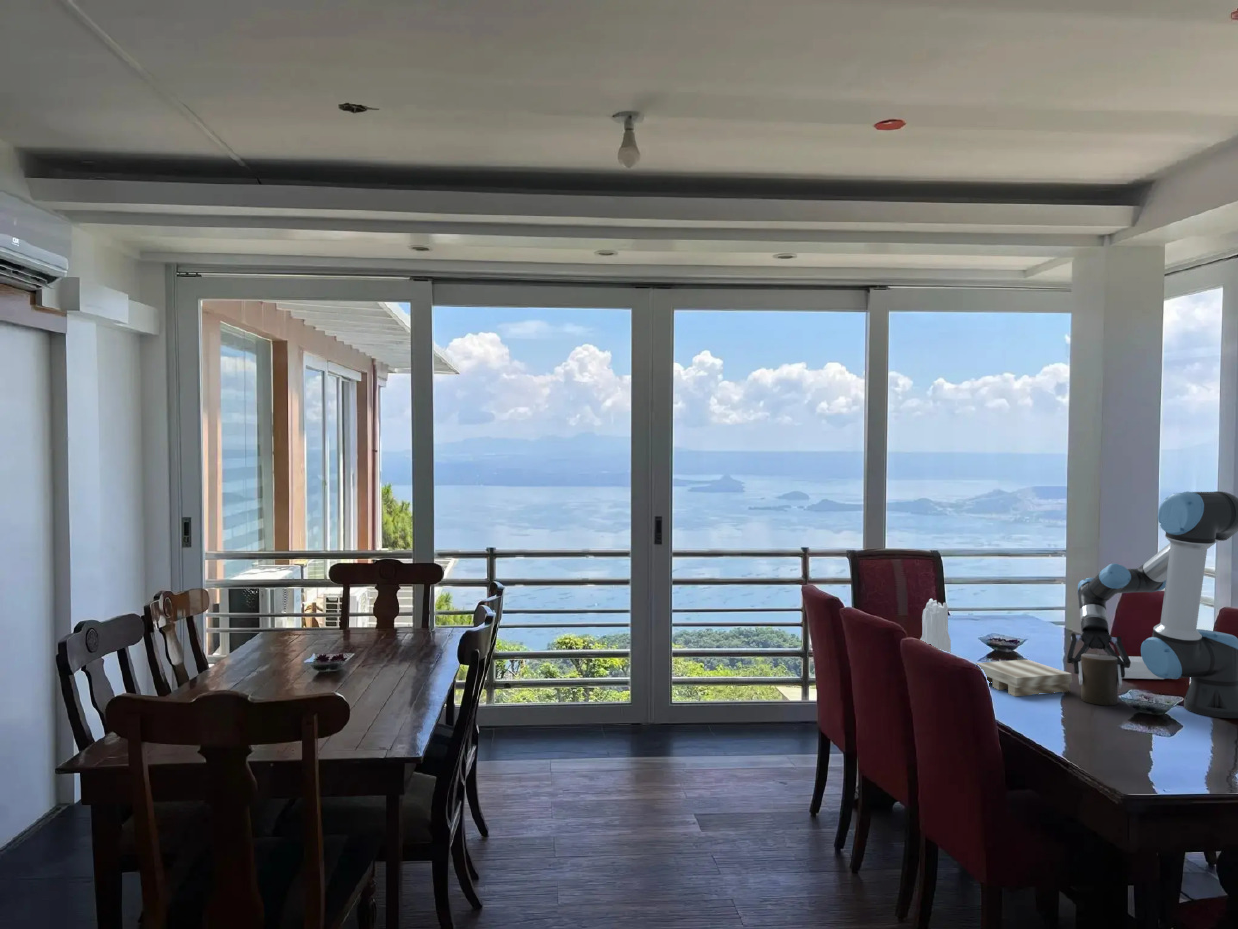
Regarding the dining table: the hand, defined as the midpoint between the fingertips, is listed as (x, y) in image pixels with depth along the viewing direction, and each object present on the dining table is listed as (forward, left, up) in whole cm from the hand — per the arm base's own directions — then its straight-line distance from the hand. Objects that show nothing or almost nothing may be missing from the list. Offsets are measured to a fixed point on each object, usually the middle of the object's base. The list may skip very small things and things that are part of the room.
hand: (1100, 684), depth 250 cm
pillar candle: (-2, -2, -6) cm, 7 cm away
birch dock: (+9, -22, -6) cm, 25 cm away
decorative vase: (+24, -47, -6) cm, 54 cm away
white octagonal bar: (-33, -24, -6) cm, 42 cm away
